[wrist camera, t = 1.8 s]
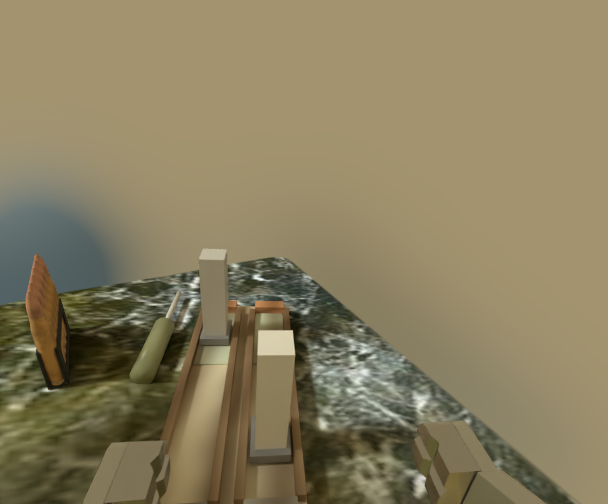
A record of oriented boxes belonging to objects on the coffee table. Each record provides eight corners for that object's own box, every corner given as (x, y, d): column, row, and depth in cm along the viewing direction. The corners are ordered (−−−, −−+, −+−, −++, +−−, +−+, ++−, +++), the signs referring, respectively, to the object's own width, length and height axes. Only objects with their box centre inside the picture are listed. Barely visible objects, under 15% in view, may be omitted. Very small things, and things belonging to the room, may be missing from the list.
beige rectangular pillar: (249, 463, 28) (251, 361, 23) (251, 422, 32) (253, 325, 26) (290, 461, 28) (301, 361, 23) (287, 420, 32) (296, 325, 27)
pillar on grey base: (199, 345, 41) (193, 261, 35) (205, 324, 44) (200, 246, 39) (228, 344, 41) (227, 262, 36) (231, 325, 45) (230, 247, 39)
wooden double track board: (131, 554, 23) (126, 536, 22) (203, 312, 49) (202, 298, 48) (308, 539, 25) (311, 522, 24) (287, 313, 51) (288, 300, 50)
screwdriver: (153, 385, 37) (154, 368, 36) (129, 383, 36) (129, 367, 35) (187, 300, 52) (188, 287, 51) (170, 298, 51) (171, 285, 50)
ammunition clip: (69, 384, 36) (39, 294, 30) (48, 391, 35) (14, 299, 29) (69, 328, 44) (46, 249, 38) (52, 332, 43) (26, 252, 37)
